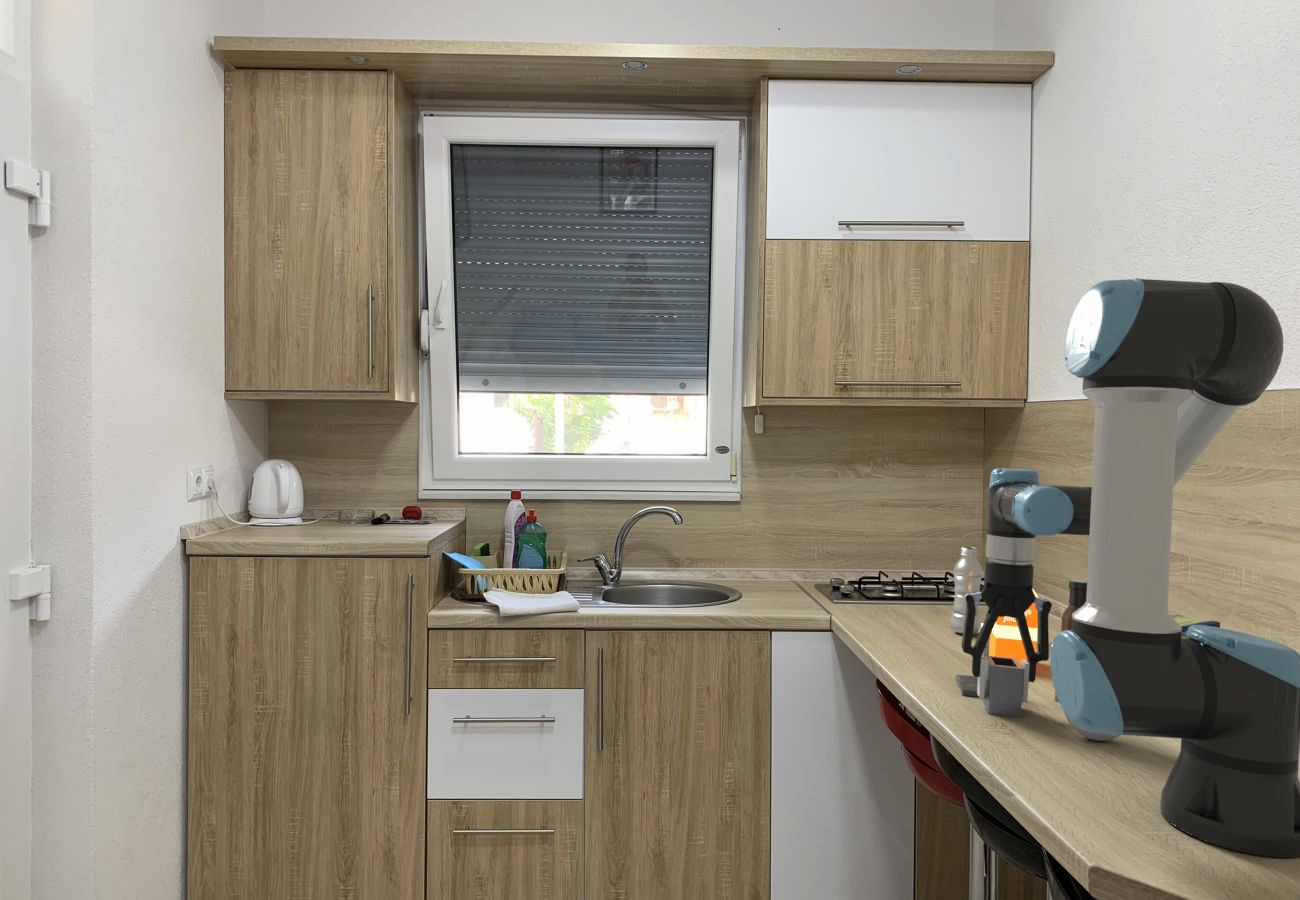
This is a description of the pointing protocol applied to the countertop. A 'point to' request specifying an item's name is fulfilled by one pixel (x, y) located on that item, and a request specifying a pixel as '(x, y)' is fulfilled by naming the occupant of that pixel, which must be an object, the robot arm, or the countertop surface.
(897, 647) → the countertop surface
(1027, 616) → the orange juice
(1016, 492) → the robot arm
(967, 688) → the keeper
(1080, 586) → the sauce bottle
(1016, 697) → the grey rectangular holder
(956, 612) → the plastic bottle
